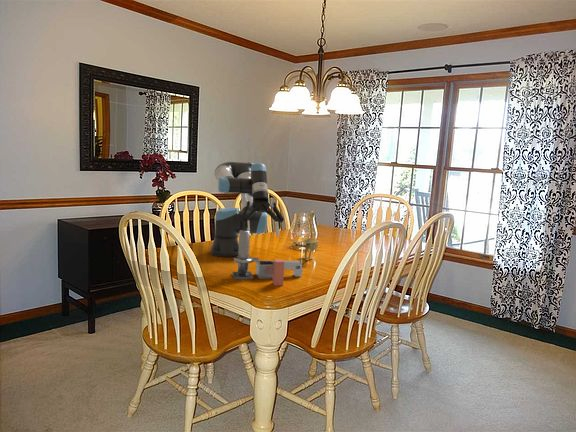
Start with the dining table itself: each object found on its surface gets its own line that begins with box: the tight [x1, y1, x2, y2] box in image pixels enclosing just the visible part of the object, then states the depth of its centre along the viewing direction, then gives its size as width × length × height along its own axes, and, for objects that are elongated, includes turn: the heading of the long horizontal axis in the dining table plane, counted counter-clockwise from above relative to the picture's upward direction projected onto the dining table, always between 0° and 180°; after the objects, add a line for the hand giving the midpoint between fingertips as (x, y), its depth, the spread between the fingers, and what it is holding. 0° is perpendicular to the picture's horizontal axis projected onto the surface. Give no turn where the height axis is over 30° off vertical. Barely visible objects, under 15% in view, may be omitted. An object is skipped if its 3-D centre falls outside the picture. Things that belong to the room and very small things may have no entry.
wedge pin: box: [272, 259, 285, 287], centre depth 186 cm, size 4×4×10 cm
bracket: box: [255, 260, 303, 280], centre depth 197 cm, size 7×20×6 cm, turn 104°
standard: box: [231, 230, 260, 281], centre depth 192 cm, size 8×10×20 cm
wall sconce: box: [298, 210, 319, 262], centre depth 226 cm, size 14×10×25 cm
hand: (263, 235), depth 204 cm, fingers open, 13 cm apart
